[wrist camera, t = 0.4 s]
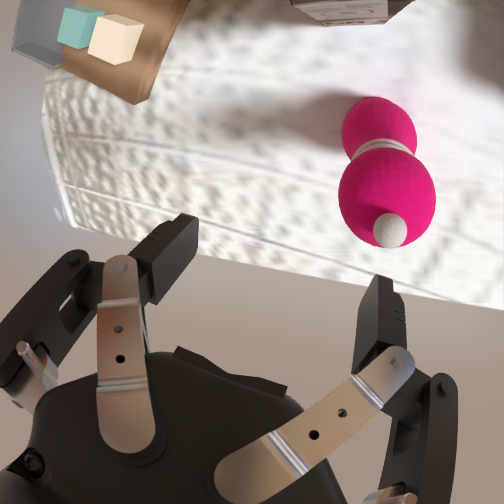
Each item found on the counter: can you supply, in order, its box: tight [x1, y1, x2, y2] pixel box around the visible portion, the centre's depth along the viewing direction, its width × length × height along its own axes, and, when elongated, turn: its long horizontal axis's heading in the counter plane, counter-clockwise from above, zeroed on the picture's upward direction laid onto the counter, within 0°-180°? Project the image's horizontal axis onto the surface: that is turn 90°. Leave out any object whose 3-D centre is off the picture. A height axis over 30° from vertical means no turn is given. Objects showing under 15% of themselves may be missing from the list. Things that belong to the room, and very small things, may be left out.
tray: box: [12, 0, 77, 69], centre depth 23 cm, size 16×15×4 cm
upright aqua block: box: [57, 5, 105, 49], centre depth 23 cm, size 5×5×3 cm
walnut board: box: [61, 0, 189, 105], centre depth 25 cm, size 16×16×3 cm
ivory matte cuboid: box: [88, 14, 144, 65], centre depth 24 cm, size 5×5×3 cm
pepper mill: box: [338, 97, 436, 248], centre depth 20 cm, size 7×7×20 cm
